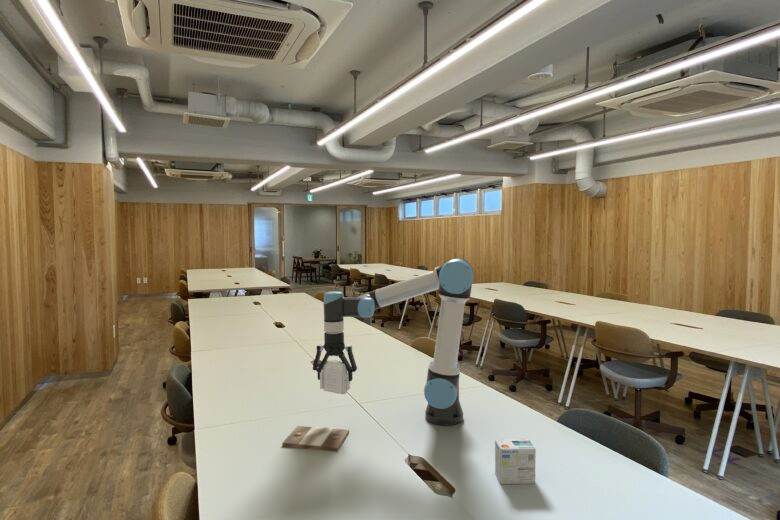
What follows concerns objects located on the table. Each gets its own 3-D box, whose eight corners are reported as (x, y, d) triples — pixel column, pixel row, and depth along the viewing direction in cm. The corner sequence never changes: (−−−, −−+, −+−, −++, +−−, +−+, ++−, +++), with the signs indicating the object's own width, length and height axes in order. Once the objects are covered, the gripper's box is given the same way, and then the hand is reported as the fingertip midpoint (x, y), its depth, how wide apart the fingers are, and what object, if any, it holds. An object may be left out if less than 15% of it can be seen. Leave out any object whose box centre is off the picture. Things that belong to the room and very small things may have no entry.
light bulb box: (528, 472, 135) (528, 437, 134) (536, 484, 128) (536, 448, 128) (493, 472, 134) (494, 438, 134) (500, 485, 128) (500, 448, 127)
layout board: (348, 433, 162) (349, 429, 162) (338, 451, 148) (338, 446, 148) (297, 428, 165) (297, 425, 165) (282, 446, 151) (282, 442, 151)
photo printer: (349, 392, 170) (348, 360, 169) (342, 395, 166) (342, 363, 165) (328, 387, 175) (327, 357, 174) (321, 391, 171) (320, 360, 170)
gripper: (364, 330, 171) (365, 386, 172) (309, 329, 175) (311, 384, 176) (360, 334, 164) (361, 393, 165) (302, 333, 167) (304, 390, 168)
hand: (335, 388), depth 170 cm, fingers closed on photo printer, 10 cm apart
